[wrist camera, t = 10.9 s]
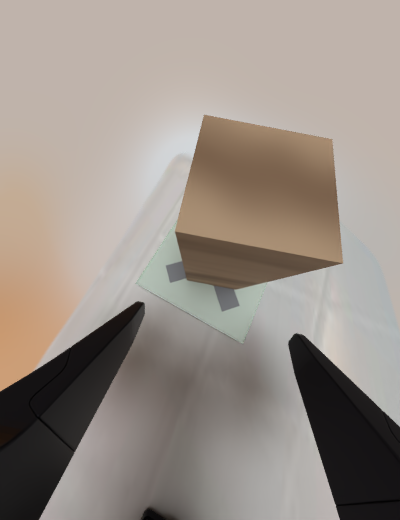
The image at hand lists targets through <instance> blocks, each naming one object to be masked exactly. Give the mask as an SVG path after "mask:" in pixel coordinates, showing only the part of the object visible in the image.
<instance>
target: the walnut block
mask: <svg viewBox="0 0 400 520" xmlns="http://www.w3.org/2000/svg"><path fill="white" fill-rule="evenodd" d="M175 234H176V238H177V242H178V246H179V250H180V254H181V258H182V262H183V266H184V270H185V274H186V278H187V280H188V281H193V282H198V283H204V284H209V285H214V286H219V287H225V288H230V289H235V290H237V289H241V288H245V287H249V286H253V285H257V284H261V283H265V282H269V281H273V280H277V279H281V278H285V277H289V276H294V275H298V274H302V273H306V272H310V271H314V270H318V269H322V268H326V267H330V266H334V265H338V264H342V263H343V259H342V247H341V236H340V224H339V213H338V202H337V190H336V178H335V167H334V156H333V145H332V139H328V138H323V137H317V136H312V135H307V134H302V133H296V132H291V131H286V130H281V129H276V128H270V127H265V126H260V125H255V124H249V123H244V122H239V121H233V120H228V119H223V118H217V117H213V116H207V115H204V118H203V121H202V126H201V129H200V133H199V137H198V142H197V145H196V149H195V153H194V157H193V161H192V165H191V169H190V173H189V177H188V181H187V185H186V189H185V193H184V197H183V201H182V205H181V209H180V213H179V217H178V221H177V225H176V229H175Z"/></svg>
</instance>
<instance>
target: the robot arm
mask: <svg viewBox="0 0 400 520" xmlns="http://www.w3.org/2000/svg"><path fill="white" fill-rule="evenodd" d="M144 314H145V304H144V303H143V302H139V301H138V302H136V303H134V304H133V305H131V306H130V307H128V308H127V309H125V310H124V311H122V312H121V313H120V314H118V315H117V316H115V317H114V318H112V319H111V320H109V321H108V322H106V323H105V324H104V325H102V326H101V327H99V328H98V329H96V330H95V331H93V332H92V333H90V334H89V335H88V336H86V337H85V338H83V339H82V340H80V341H79V342H77V343H76V344H74V345H73V346H72V347H71V348H69V349H67V350H66V351H64V352H63V353H61V354H60V355H58V356H57V357H55V358H54V359H52V360H51V361H49V362H48V363H46V364H45V365H43V366H42V367H40V368H38V369H37V370H35V371H33V372H32V373H30V374H29V375H27V376H26V377H24V378H22V379H21V380H19V381H17V382H15V383H14V384H12V385H10V386H9V387H7V388H5V389H4V390H2V391H0V520H39V519H40V517H41V515H42V513H43V511H44V509H45V507H46V505H47V503H48V502H49V500H50V498H51V496H52V494H53V492H54V490H55V488H56V487H57V485H58V483H59V481H60V479H61V477H62V475H63V473H64V472H65V470H66V468H67V466H68V464H69V462H70V460H71V458H72V456H73V455H74V452H75V451H76V449H77V447H78V445H79V443H80V441H81V439H82V437H83V436H84V434H85V432H86V430H87V428H88V426H89V424H90V422H91V421H92V419H93V417H94V415H95V413H96V411H97V409H98V407H99V406H100V404H101V402H102V400H103V398H104V396H105V394H106V392H107V391H108V389H109V387H110V385H111V383H112V381H113V379H114V377H115V375H116V374H117V372H118V370H119V368H120V366H121V364H122V362H123V360H124V359H125V357H126V355H127V353H128V351H129V349H130V347H131V345H132V343H133V341H134V339H135V337H136V334H137V332H138V329H139V327H140V324H141V322H142V319H143V317H144ZM288 346H289V350H290V355H291V360H292V364H293V369H294V373H295V377H296V380H297V383H298V386H299V390H300V393H301V396H302V399H303V402H304V406H305V409H306V412H307V415H308V418H309V422H310V425H311V428H312V431H313V434H314V438H315V441H316V444H317V447H318V450H319V454H320V457H321V460H322V463H323V466H324V470H325V473H326V476H327V479H328V482H329V486H330V489H331V492H332V495H333V498H334V502H335V504H336V508H337V512H338V515H339V518H340V520H400V427H399V426H398V425H397V424H396V423H395V422H394V421H393V420H392V419H391V418H390V417H389V416H388V415H387V414H386V413H385V412H383V411H382V410H381V409H380V408H379V407H378V406H377V405H376V404H375V403H374V402H373V401H372V400H371V399H370V398H369V397H368V396H367V395H366V394H365V393H364V392H363V391H362V390H361V389H359V388H358V387H357V386H356V385H355V384H354V383H353V382H352V381H351V380H350V379H349V378H348V377H347V376H346V375H345V374H344V373H343V372H342V371H341V370H340V369H339V368H338V367H336V366H335V365H334V364H333V363H332V362H331V361H330V360H329V359H328V358H327V357H326V356H325V355H324V354H323V353H322V352H321V351H320V350H319V349H318V348H317V347H316V346H315V345H314V344H312V343H311V342H310V341H309V340H308V339H307V338H306V337H305V336H304V335H302V334H297V333H296V334H294V335H293V337H292V338H291V339H290V340H289V343H288ZM141 520H165V519H163V518H162V517H160V516H159V515H158V514H156V513H155V512H153V511H152V510H146V511H145V512H144V514H143V516H142V518H141Z"/></svg>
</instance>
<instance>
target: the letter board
mask: <svg viewBox="0 0 400 520" xmlns="http://www.w3.org/2000/svg"><path fill="white" fill-rule="evenodd" d="M177 221H178V220H177ZM177 221H176V223H175V224H174V226H173V227H172V229H171V230H170V232H169V233H168V235H167V236H166V238H165V239H164V241H163V242H162V244H161V245H160V247H159V249H158V250H157V252H156V253H155V255H154V256H153V258H152V259H151V261H150V262H149V264H148V265H147V267H146V268H145V270H144V271H143V273H142V274H141V276H140V277H139V279H138V280H137V282H136V284H137V285H139V286H141V287H143V288H144V289H146V290H148V291H150V292H151V293H153V294H155V295H157V296H158V297H160V298H162V299H164V300H166V301H167V302H169V303H171V304H173V305H174V306H176V307H178V308H180V309H181V310H183V311H185V312H187V313H189V314H190V315H192V316H194V317H196V318H197V319H199V320H201V321H203V322H204V323H206V324H208V325H210V326H211V327H213V328H215V329H217V330H219V331H220V332H222V333H224V334H226V335H227V336H229V337H231V338H233V339H234V340H236V341H238V342H240V343H242V344H243V343H244V340H245V338H246V335H247V333H248V330H249V328H250V325H251V322H252V320H253V317H254V315H255V312H256V310H257V307H258V305H259V302H260V300H261V297H262V295H263V292H264V290H265V287H266V285H267V282H265V283H261V284H257V285H253V286H249V287H245V288H241V289H237V290H235V289H230V288H225V287H219V286H214V285H209V284H204V283H198V282H193V281H188V280H187V278H186V274H185V270H184V266H183V262H182V258H181V254H180V250H179V246H178V242H177V238H176V234H175V229H176V225H177Z"/></svg>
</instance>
